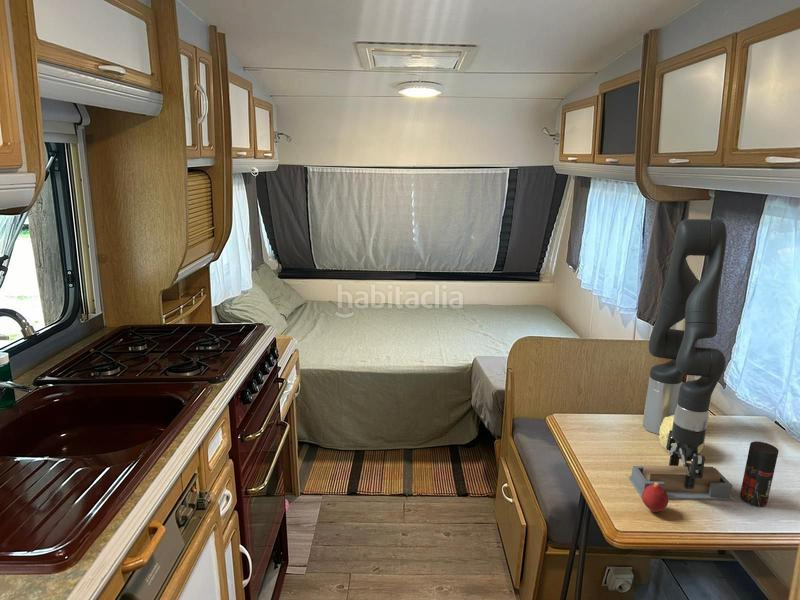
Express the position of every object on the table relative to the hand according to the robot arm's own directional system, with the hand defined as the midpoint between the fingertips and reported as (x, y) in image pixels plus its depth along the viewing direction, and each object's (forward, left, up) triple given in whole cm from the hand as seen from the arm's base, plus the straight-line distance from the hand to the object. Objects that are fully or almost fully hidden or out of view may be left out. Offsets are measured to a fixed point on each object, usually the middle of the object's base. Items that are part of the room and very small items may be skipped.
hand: (680, 478), depth 143 cm
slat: (0, 0, -3) cm, 3 cm away
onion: (+10, -11, -3) cm, 15 cm away
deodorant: (+4, +17, -3) cm, 18 cm away
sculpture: (-19, +9, -3) cm, 21 cm away
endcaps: (0, 0, -3) cm, 3 cm away
